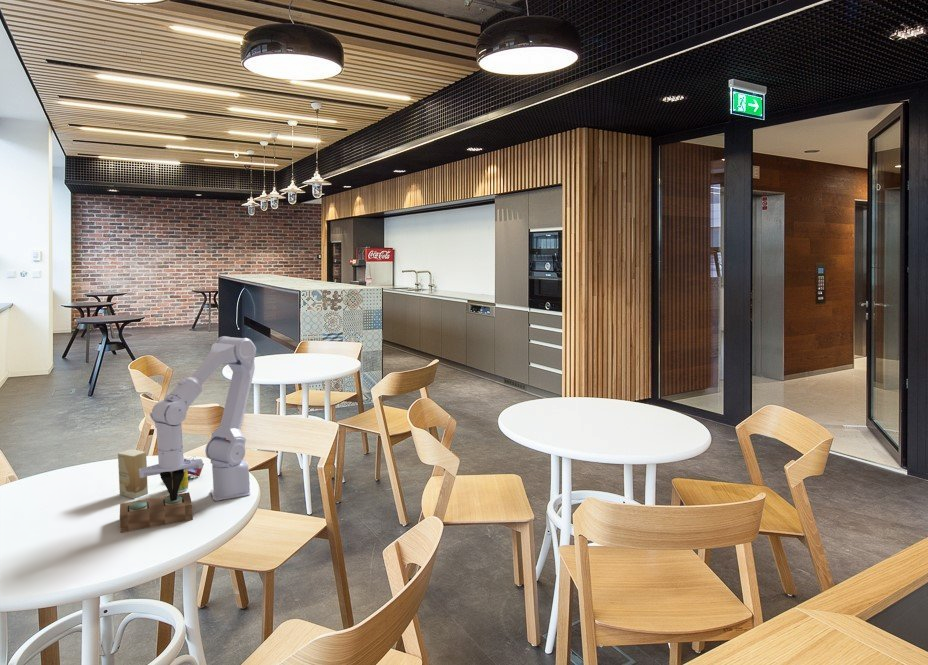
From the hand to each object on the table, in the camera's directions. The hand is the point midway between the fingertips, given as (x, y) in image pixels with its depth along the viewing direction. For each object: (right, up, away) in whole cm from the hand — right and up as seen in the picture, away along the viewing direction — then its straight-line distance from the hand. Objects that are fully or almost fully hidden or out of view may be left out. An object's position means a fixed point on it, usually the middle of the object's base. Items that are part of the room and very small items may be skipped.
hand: (173, 499), depth 157 cm
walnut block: (-3, -5, -1) cm, 6 cm away
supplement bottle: (-7, -2, +18) cm, 20 cm away
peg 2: (0, -4, +1) cm, 4 cm away
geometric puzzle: (-8, -1, +28) cm, 29 cm away
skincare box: (-18, -3, +15) cm, 23 cm away
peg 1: (-7, -4, -3) cm, 9 cm away
